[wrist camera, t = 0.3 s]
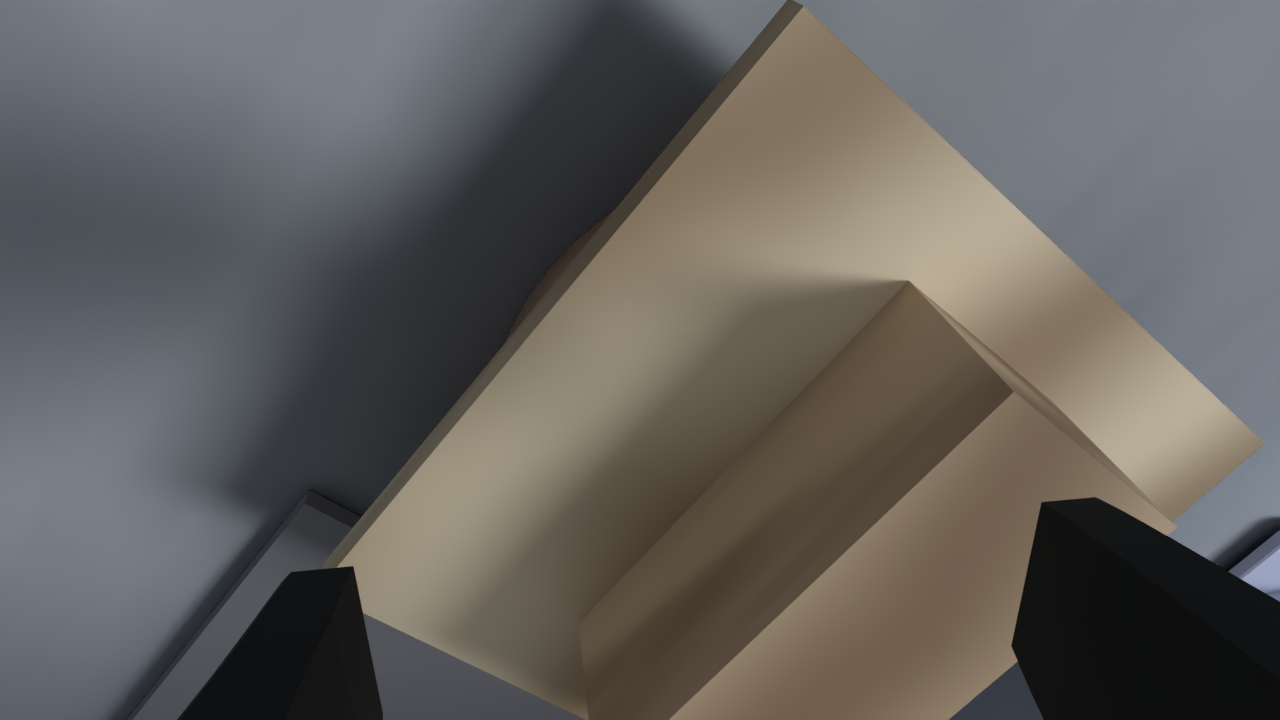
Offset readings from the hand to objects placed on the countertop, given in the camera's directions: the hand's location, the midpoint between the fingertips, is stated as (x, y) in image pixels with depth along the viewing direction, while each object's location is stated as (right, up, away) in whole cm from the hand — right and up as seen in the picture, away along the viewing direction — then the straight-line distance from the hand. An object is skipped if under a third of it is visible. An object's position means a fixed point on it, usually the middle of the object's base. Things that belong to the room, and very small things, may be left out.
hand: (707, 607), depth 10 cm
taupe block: (+2, 0, +9) cm, 9 cm away
